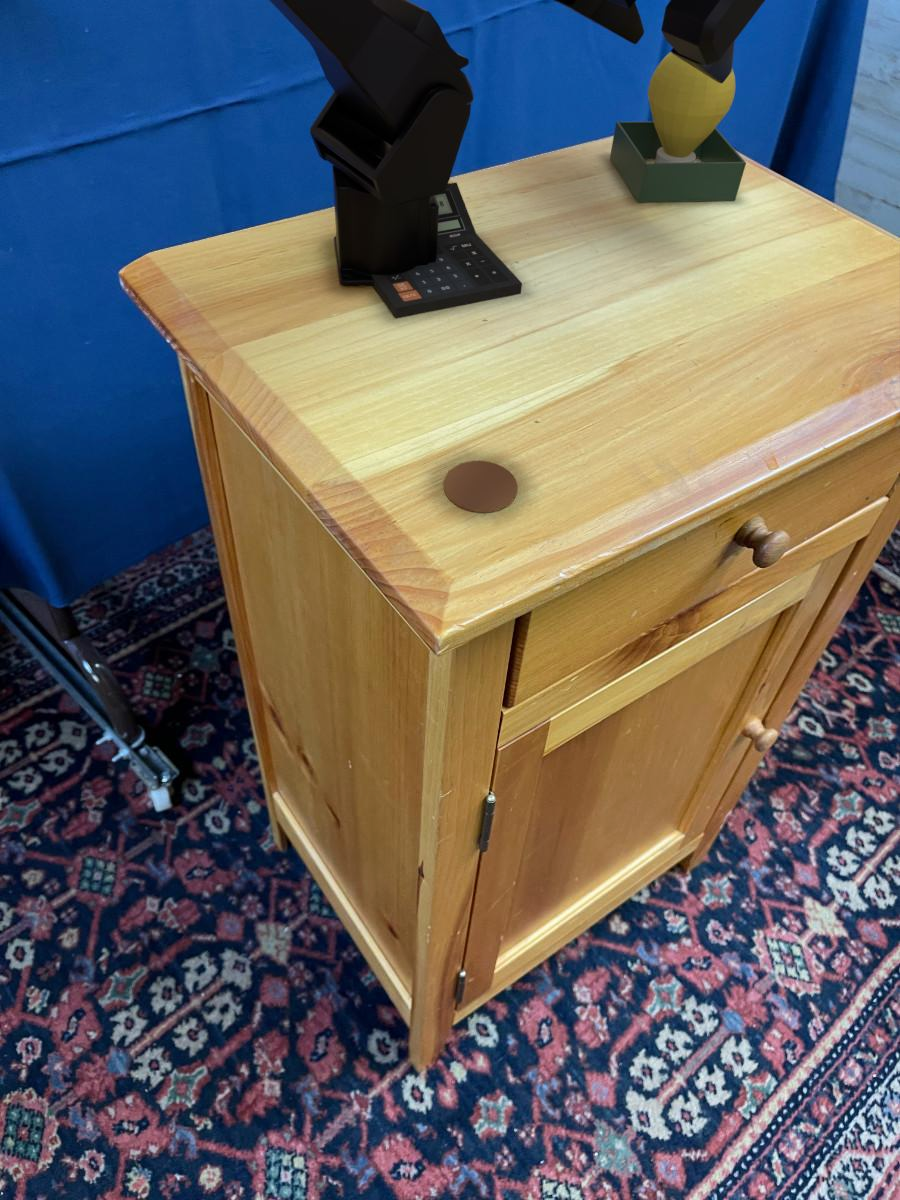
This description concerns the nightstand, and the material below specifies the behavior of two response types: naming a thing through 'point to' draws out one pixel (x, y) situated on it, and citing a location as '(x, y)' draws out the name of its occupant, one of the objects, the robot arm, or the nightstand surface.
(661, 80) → the light bulb
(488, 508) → the coaster
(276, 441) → the nightstand surface
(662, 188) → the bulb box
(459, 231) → the calculator
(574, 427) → the nightstand surface
